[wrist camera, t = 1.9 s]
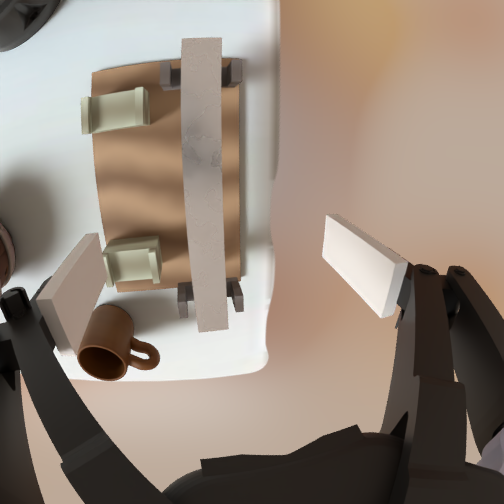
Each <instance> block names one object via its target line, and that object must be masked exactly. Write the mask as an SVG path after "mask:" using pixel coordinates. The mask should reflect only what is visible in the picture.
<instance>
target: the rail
mask: <svg viewBox="0 0 504 504" xmlns="http://www.w3.org/2000/svg"><path fill="white" fill-rule="evenodd" d="M221 57H222V38H186V39H182V50H181V139H182V165H183V184H184V199H185V213H186V226H187V237H188V248H189V258H190V267H191V277H192V285H193V293H194V301H195V309H196V316H197V324H198V330H199V332H208V331H217V330H226V329H229V328H228V311H227V293H226V273H225V251H224V224H223V192H222V140H221Z"/></svg>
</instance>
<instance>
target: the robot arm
mask: <svg viewBox="0 0 504 504" xmlns="http://www.w3.org/2000/svg"><path fill="white" fill-rule="evenodd" d="M59 2H60V0H0V52H4V51H8V50H11V49H13V48H15V47H17V46H19V45H20V44H22V43H23V42H25V41H26V40H28V39H29V38H30V37H31V36H32V35H33V34H35V33H36V32H37V31H38V30H39V29H40V28H41V27H42V26H43V24H44V23H45V22H46V21H47V20H48V19H49V17H50V16H51V15H52V13H53V12H54V10H55V9H56V7H57V5H58V4H59ZM322 257H323V258H324V259H325V260H326V261H327V262H328V263H329V264H330V265H331V266H332V267H333V268H334V269H335V270H336V271H337V272H338V273H339V274H340V275H341V277H343V279H344V280H345V281H346V282H347V283H348V284H349V285H350V286H351V287H352V288H353V289H354V290H355V291H356V292H357V293H358V294H359V295H360V296H361V297H362V298H363V300H364V301H366V303H367V304H368V305H369V306H370V307H371V308H372V309H373V310H374V311H375V312H376V314H377V315H378V316H379V317H380V318H384V317H387V316H391V315H393V314H394V311H395V308H396V304H398V305H399V306H400V307H401V311H400V314H399V318H398V320H397V323H396V326H395V328H396V329H397V327H398V335H397V343H396V352H395V359H394V367H393V373H392V380H391V385H390V390H389V396H388V401H387V406H386V410H385V415H384V420H383V424H382V428H381V430H380V433H374V432H369V433H361V431H360V429H359V427H358V425H354V426H351V427H348V428H345V429H342V430H340V431H336V432H333V433H331V434H327V435H324V436H322V437H320V438H318V439H317V440H315V441H313V442H312V443H309V444H308V445H306V446H304V447H302V448H300V449H298V450H296V451H294V452H292V453H290V454H288V455H243V454H242V455H236V456H227V457H219V458H211V459H200V461H201V467H202V469H199V470H196V471H193V472H191V473H189V474H186V475H184V476H182V477H181V478H179V479H177V480H176V481H175V482H173V483H172V484H170V485H169V487H167V488H166V489H165V490H164V491H163V492H162V493H161V492H160V491H159V490H158V489H157V488H156V487H155V486H154V485H153V484H151V483H150V482H149V481H148V480H147V479H146V478H145V477H144V476H143V475H142V474H141V473H140V471H139V470H137V468H136V467H135V466H134V465H133V464H132V463H131V462H130V461H129V460H128V459H127V458H126V456H125V455H124V454H123V453H122V452H121V451H120V450H119V448H118V447H117V446H116V445H115V444H114V442H112V440H111V439H110V438H109V436H108V435H107V434H106V433H105V431H104V430H103V429H102V428H101V426H100V425H99V424H98V422H97V421H96V420H95V418H94V417H93V416H92V414H91V413H90V411H89V410H88V409H87V407H86V406H85V404H84V403H83V401H82V400H81V398H80V397H79V395H78V394H77V392H76V390H75V389H74V387H73V386H72V384H71V382H70V381H69V379H68V378H67V376H66V374H65V373H64V371H63V369H62V367H61V366H60V364H59V362H58V360H57V358H56V357H55V355H54V353H53V350H54V348H55V346H56V347H57V349H58V351H59V352H60V354H61V356H76V355H77V352H78V349H79V346H80V344H81V341H82V338H83V335H84V333H85V330H86V327H87V325H88V322H89V320H90V317H91V315H92V312H93V310H94V307H95V305H96V302H97V300H98V298H99V295H100V293H101V291H102V289H103V286H104V284H105V282H106V280H107V277H108V276H107V272H106V268H105V263H104V259H103V254H102V250H101V245H100V240H99V235H98V233H91V234H86V235H85V236H84V237H83V238H82V239H81V241H80V242H79V243H78V244H77V245H76V247H75V248H74V249H73V250H72V252H71V253H70V254H69V255H68V257H67V258H66V259H65V260H64V262H63V263H62V264H61V265H60V267H59V268H58V269H57V271H56V272H55V273H54V275H53V276H51V277H49V278H48V279H47V280H45V281H44V282H43V284H42V285H41V286H40V289H38V290H37V292H36V294H35V295H34V296H33V297H32V299H31V300H30V301H29V299H28V296H27V293H26V291H25V289H24V288H23V287H15V288H12V289H9V290H8V291H6V292H5V293H3V294H2V295H1V296H0V308H1V310H2V312H3V314H4V317H5V319H6V321H7V322H5V323H1V324H0V504H45V503H44V500H43V497H42V494H41V491H40V488H39V485H38V482H37V478H36V474H35V471H34V467H33V463H32V458H31V454H30V449H29V445H28V439H27V434H26V428H25V422H24V414H23V406H22V395H21V383H20V370H21V373H22V376H23V378H24V381H25V384H26V386H27V389H28V391H29V394H30V396H31V399H32V401H33V404H34V406H35V408H36V410H37V413H38V415H39V417H40V419H41V421H42V423H43V425H44V427H45V429H46V431H47V433H48V435H49V437H50V439H51V441H52V443H53V444H54V446H55V448H56V450H57V452H58V453H59V455H60V457H61V459H62V461H63V463H61V468H62V470H63V472H64V474H65V476H66V477H67V478H68V480H69V482H70V483H71V485H72V486H73V488H74V489H75V491H76V492H77V493H78V495H79V496H80V498H81V499H82V500H83V502H84V503H85V504H504V319H503V318H502V316H501V315H500V313H499V312H498V310H497V309H496V307H495V306H494V304H493V303H492V302H491V300H490V299H489V297H488V296H487V295H486V293H485V292H484V291H483V289H482V288H481V287H480V285H479V284H478V283H477V281H476V280H475V279H474V277H473V276H472V275H471V274H470V273H469V272H468V271H467V270H466V269H464V268H463V267H460V266H450V267H449V268H448V271H447V275H439V273H438V272H437V270H436V269H434V268H432V267H430V266H428V265H422V264H417V265H415V266H414V265H412V264H411V263H410V262H408V261H407V260H405V259H404V258H403V257H401V256H400V255H398V254H397V253H395V252H394V251H393V250H391V249H390V248H388V247H386V246H385V245H383V244H382V243H380V242H379V241H377V240H376V239H375V238H373V237H372V236H370V235H369V234H367V233H366V232H364V231H363V230H361V229H359V228H358V227H356V226H355V225H354V224H352V223H350V222H349V221H347V220H345V219H344V218H343V217H341V216H339V215H338V214H331V215H326V224H325V234H324V244H323V254H322ZM458 310H459V311H458ZM454 370H455V373H456V376H457V378H458V382H455V381H454ZM466 409H467V412H468V417H469V421H470V424H471V429H472V432H473V436H474V439H475V443H476V445H477V448H478V451H479V453H480V455H481V457H482V459H481V460H480V461H479V462H478V463H477V465H475V464H471V463H468V462H465V456H466V434H467V433H466V432H467V415H466Z"/></svg>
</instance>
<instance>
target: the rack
mask: <svg viewBox="0 0 504 504" xmlns="http://www.w3.org/2000/svg"><path fill="white" fill-rule="evenodd" d="M241 82H242V60H241V59H232V58H221V140H222V192H223V224H224V251H225V273H226V293H227V297H232V300H233V304H234V307H235V311H236V312H243V311H244V307H243V293H242V290H241V288H240V285H239V282H238V281H241V272H240V204H239V83H241ZM81 125H82V134H91V133H92V138H93V153H94V164H95V174H96V183H97V191H98V198H99V205H100V212H101V218H102V224H103V229H104V235H105V240H106V245H107V246H106V247H105V249H104V251H103V253H102V254H103V259H104V263H105V268H106V272H107V276H108V277H107V280H106V285H107V287H113V286H114V283H115V284H116V288H117V292H130V291H143V290H155V289H166V288H178V308H179V314H180V318H188V309H187V301H194V293H193V285H192V277H191V267H190V258H189V248H188V237H187V226H186V213H185V199H184V184H183V165H182V139H181V60H171V61H160V62H151V63H143V64H136V65H129V66H123V67H118V68H112V69H107V70H102V71H98V72H93V73H92V88H91V97H84V98H81Z"/></svg>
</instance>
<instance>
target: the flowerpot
mask: <svg viewBox="0 0 504 504" xmlns="http://www.w3.org/2000/svg"><path fill="white" fill-rule="evenodd" d="M14 267H15V249H14V245H13V244H12V239H11V236H10V234H9V233H8V232H7V231H6V229H5V228H4V227H3V225H2V223H1V222H0V296H1V295H2V292H1V288H2V287H4V286H5V285H6V284H7V283H8V282H9V280H10V278H11V276H12V273H13V271H14Z"/></svg>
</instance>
